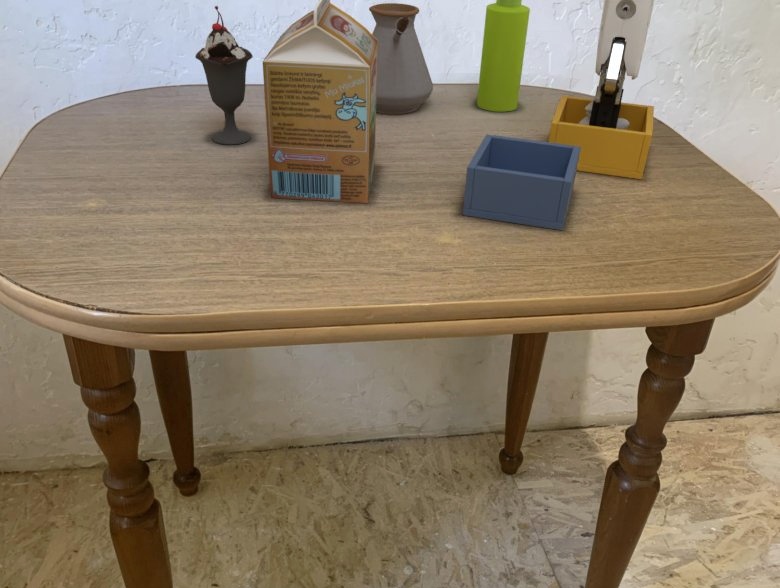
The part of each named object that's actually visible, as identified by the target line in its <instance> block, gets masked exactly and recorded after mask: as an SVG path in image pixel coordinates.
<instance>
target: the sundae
mask: <svg viewBox="0 0 780 588" xmlns="http://www.w3.org/2000/svg"><path fill="white" fill-rule="evenodd" d="M214 9H215V10H216V12H217V20H216V22H215V23H213V24H212V25H211V29H212V30H211V31H210V33H209V34H207V37H206V41H205V46H204V47H202V48H201V49H200V50H199V51H197V52H196V53H195V59H197V60H198V61H200V63H201V64H202V67H203V71H204V74H205V78H206V84H207V88H208V91H209V95H210V99H211V100H212V102H213V104H215V105H216V107H217V108H219V109H220V110H221V111H223V114H224V127H223V129H222V130H220V131H218V132H215V133H214V134H212V135H211V140H212V141H213V142H215V143H217V144H220V145H225V146H226V145H227V146H235V145H240V144H241V145H242V144H245V143H247V142H249V141H250V140H251V139H252V135H251V134H250V133H249V132H247V131H244V130H240V129H239V128H238V126H237V124H236V118H235V112H236V110H237V109H238V108H239V107H240V106H241V105H242V104H243V102H244V101H245V96H246V95H245V94H246V73H247V66H248V63H249V61H250V60H251V59H252V58H253V54H252V53H251V51H249V50H248V49H247V48H244V47H243V46H239V44H238V42H237V41H236V38H235V37H234V36H233V34H232V33H231V32H230V31H229V30H228V28H227V27H226V26H225V23H224V20H223V16H222V14H221V12H220V11H219V6H218V5H215V6H214ZM219 20H220V21H221V24H220V23H219V22H220V21H219Z"/></svg>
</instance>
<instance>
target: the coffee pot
mask: <svg viewBox="0 0 780 588" xmlns="http://www.w3.org/2000/svg"><path fill="white" fill-rule="evenodd" d="M368 10H369V12H370V13H371V15H372V17H373V20H374V22H375V26H374V29H373V31H372V33H371V34H372V35H373V36H374V37H375V38H376V40H377V41H378V49H377V91H376V113H379V114H381V113H382V114H389V115H401V114H403V115H404V114H408V113H413V112H415V111H417V110H418V109H419V108H420V106H421V105H424V104H425V102H427V100H428V99H429V98H430V96H431V94H432V93H433V90H434V83H433V80H432V78H431V75H430V72H429V69H428V65H427V62H426V60H425V56H424V53H423V50H422V47H421V44H420V41H419V37H418V35H417V32H416V29H415V20H416V17H417V15H418V14H419V13H420V8H419V7H417V6H415V5H411V4H407V3H397V2H391V3H390V2H387V3H386V2H385V3H378V4H374V5H372V6H370V7H368Z"/></svg>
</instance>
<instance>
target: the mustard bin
mask: <svg viewBox="0 0 780 588" xmlns="http://www.w3.org/2000/svg"><path fill="white" fill-rule="evenodd" d="M592 99H593V98H587V97H580V96H579V97H578V96H571V95H569V96H568V95H563V94H562V95H561V97H560V99H559V102H558V105H557V107H556V110H555V112H554V114H553V118H552V120H551V123H550V127H549V135H548V140H547V142H549V143H557V144H565V145H572V146H579V147H581V150H580V155H579V160H578V166H577V171H576V172H585V173H591V174H592V173H593V174H598V175H599V174H600V175H605V176H607V175H608V176H614V177H622V178H629V179H637V180H642V179H643V176H644V171H645V167H646V163H647V159H648V154H649V151H650V147H651V144H652V143H651V141H652V138H653V130H654V111H655V106H654V105H647V104H639V103H629V102H622V101H621V107H620V112H619V117H618V118H623V119H626V120H627V121H628V122H629V127H628V128H627V130H622V129H614V128H606V127H598V126H590V125H582V124H578V123H579V122H580V121H581V120H582V119H584V118H585V117H587V114H586V112H587V111H586V110H585V107H586V106H587V105H588V104H590V103H591V101H592Z"/></svg>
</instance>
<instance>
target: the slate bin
mask: <svg viewBox="0 0 780 588" xmlns="http://www.w3.org/2000/svg"><path fill="white" fill-rule="evenodd" d="M580 150H581V147H579V146H572V145H565V144H557V143H549V142H548V141H541V140H533V139H526V138H519V137H511V136H510V137H509V136H504V135H503V136H502V135H496V134H495V135H494V134H485V136H484V138H483V139H482V141H481V143H480V145H479V146H478V148H477V150H476V151H475V153H474V155H473V157H472V158H471V160H470V162H469V163H468V165H467V167H466V176H465V187H464V196H463V206H462V216H465V217H473V218H479V219H485V220H492V221H498V222H504V223H505V222H506V223H512V224H516V225H517V224H518V225H525V226H531V227H537V228H544V229H551V230H556V231H563V230H564V228H565V227H564V226H565V222H566V219H567V215H568V211H569V207H570V203H571V200H572V195H573V192H574V186H575V180H576V176H577V172H578V171H577V166H578V160H579V155H580Z"/></svg>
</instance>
